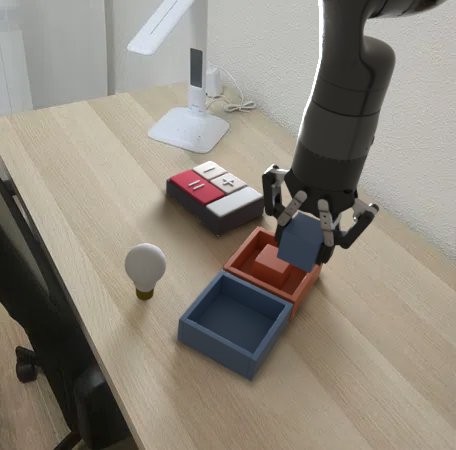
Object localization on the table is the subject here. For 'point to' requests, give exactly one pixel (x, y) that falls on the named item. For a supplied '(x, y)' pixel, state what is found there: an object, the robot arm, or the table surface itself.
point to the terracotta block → (271, 268)
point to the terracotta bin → (242, 269)
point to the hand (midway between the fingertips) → (301, 252)
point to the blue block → (301, 242)
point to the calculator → (215, 197)
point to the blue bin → (234, 324)
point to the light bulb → (145, 268)
